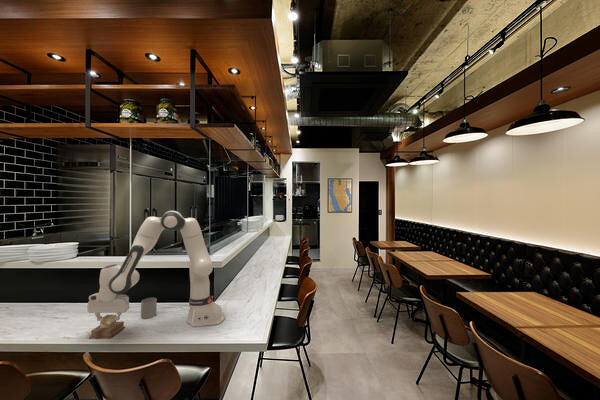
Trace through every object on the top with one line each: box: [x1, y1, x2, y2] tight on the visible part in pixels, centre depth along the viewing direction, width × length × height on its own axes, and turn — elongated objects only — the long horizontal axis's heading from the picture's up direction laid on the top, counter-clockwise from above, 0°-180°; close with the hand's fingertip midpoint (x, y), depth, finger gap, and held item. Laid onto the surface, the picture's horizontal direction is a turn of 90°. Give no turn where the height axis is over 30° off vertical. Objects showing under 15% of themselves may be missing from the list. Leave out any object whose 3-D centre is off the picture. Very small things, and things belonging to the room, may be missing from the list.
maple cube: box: [99, 314, 118, 328], centre depth 133 cm, size 5×5×5 cm
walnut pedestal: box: [88, 320, 126, 340], centre depth 133 cm, size 11×11×4 cm
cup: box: [140, 297, 158, 320], centre depth 155 cm, size 8×8×10 cm
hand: (108, 320), depth 133 cm, fingers open, 8 cm apart
